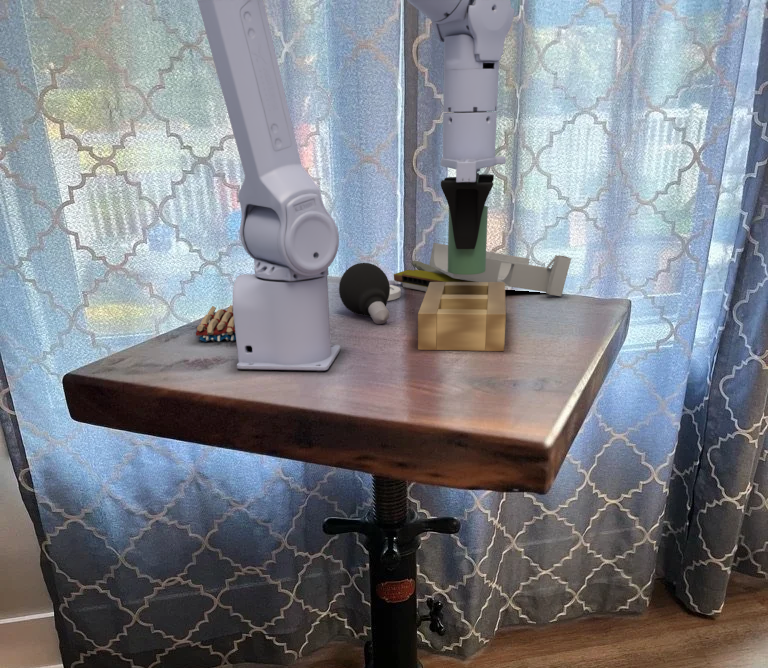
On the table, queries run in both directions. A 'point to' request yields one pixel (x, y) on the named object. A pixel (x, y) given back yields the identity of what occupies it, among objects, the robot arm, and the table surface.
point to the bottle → (468, 258)
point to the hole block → (463, 316)
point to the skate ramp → (510, 270)
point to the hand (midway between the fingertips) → (466, 245)
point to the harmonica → (422, 279)
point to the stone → (425, 267)
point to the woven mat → (217, 325)
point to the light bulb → (366, 291)
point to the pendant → (394, 292)
